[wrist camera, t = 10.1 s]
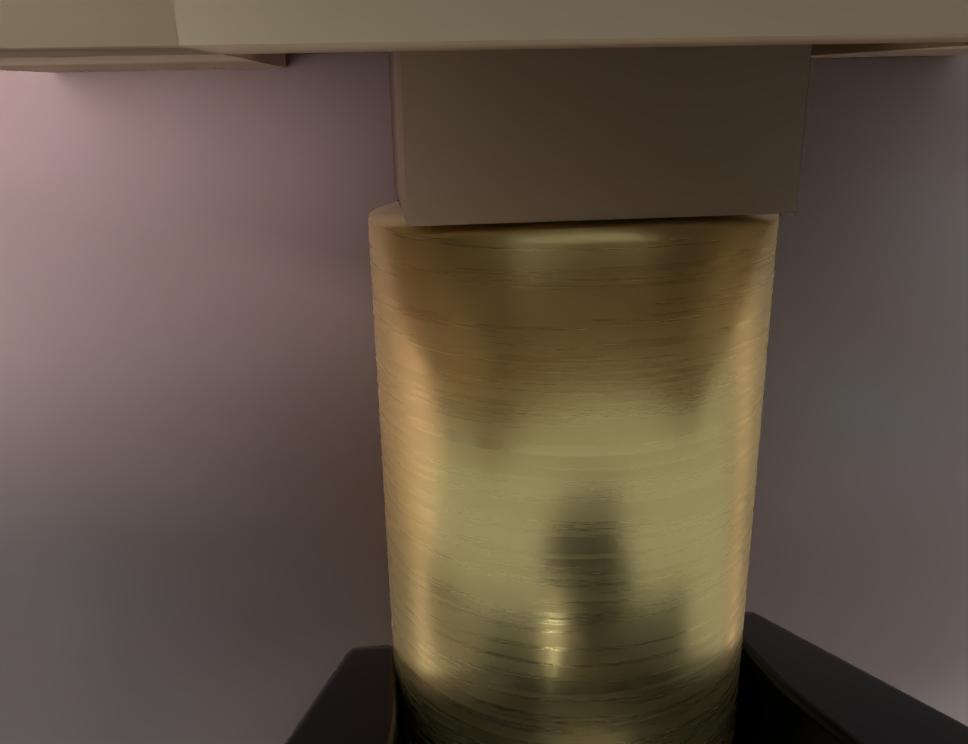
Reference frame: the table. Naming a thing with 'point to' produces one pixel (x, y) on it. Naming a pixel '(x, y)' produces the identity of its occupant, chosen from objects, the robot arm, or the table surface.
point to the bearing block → (450, 28)
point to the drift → (597, 132)
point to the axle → (570, 472)
